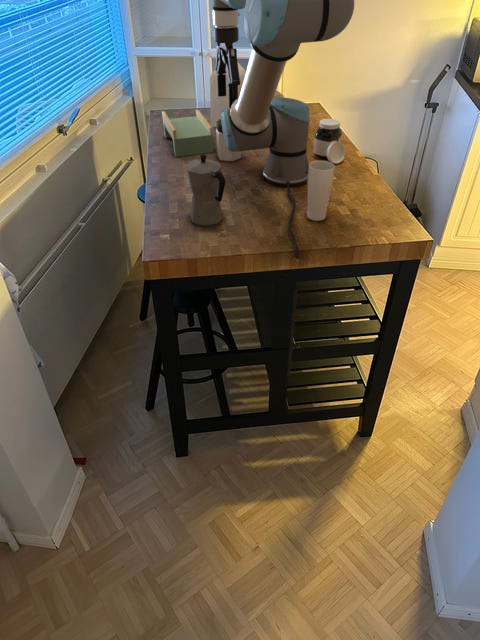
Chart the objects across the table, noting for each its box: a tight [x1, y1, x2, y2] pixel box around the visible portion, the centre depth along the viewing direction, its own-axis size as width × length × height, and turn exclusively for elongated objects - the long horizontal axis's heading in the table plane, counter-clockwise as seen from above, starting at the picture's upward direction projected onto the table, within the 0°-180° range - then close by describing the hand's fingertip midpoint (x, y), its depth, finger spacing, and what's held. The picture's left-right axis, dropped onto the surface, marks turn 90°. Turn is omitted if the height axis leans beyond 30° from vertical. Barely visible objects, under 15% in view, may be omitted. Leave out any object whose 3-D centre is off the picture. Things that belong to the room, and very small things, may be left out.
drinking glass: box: [306, 160, 335, 222], centre depth 128 cm, size 7×7×15 cm
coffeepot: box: [185, 154, 226, 227], centre depth 126 cm, size 15×9×18 cm, turn 39°
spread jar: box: [313, 118, 346, 164], centre depth 161 cm, size 12×11×12 cm
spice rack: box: [161, 109, 215, 158], centre depth 174 cm, size 22×14×9 cm, turn 17°
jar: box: [215, 119, 242, 162], centre depth 163 cm, size 9×8×12 cm
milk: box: [209, 62, 246, 128], centre depth 185 cm, size 12×12×26 cm
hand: (227, 101), depth 155 cm, fingers open, 13 cm apart
